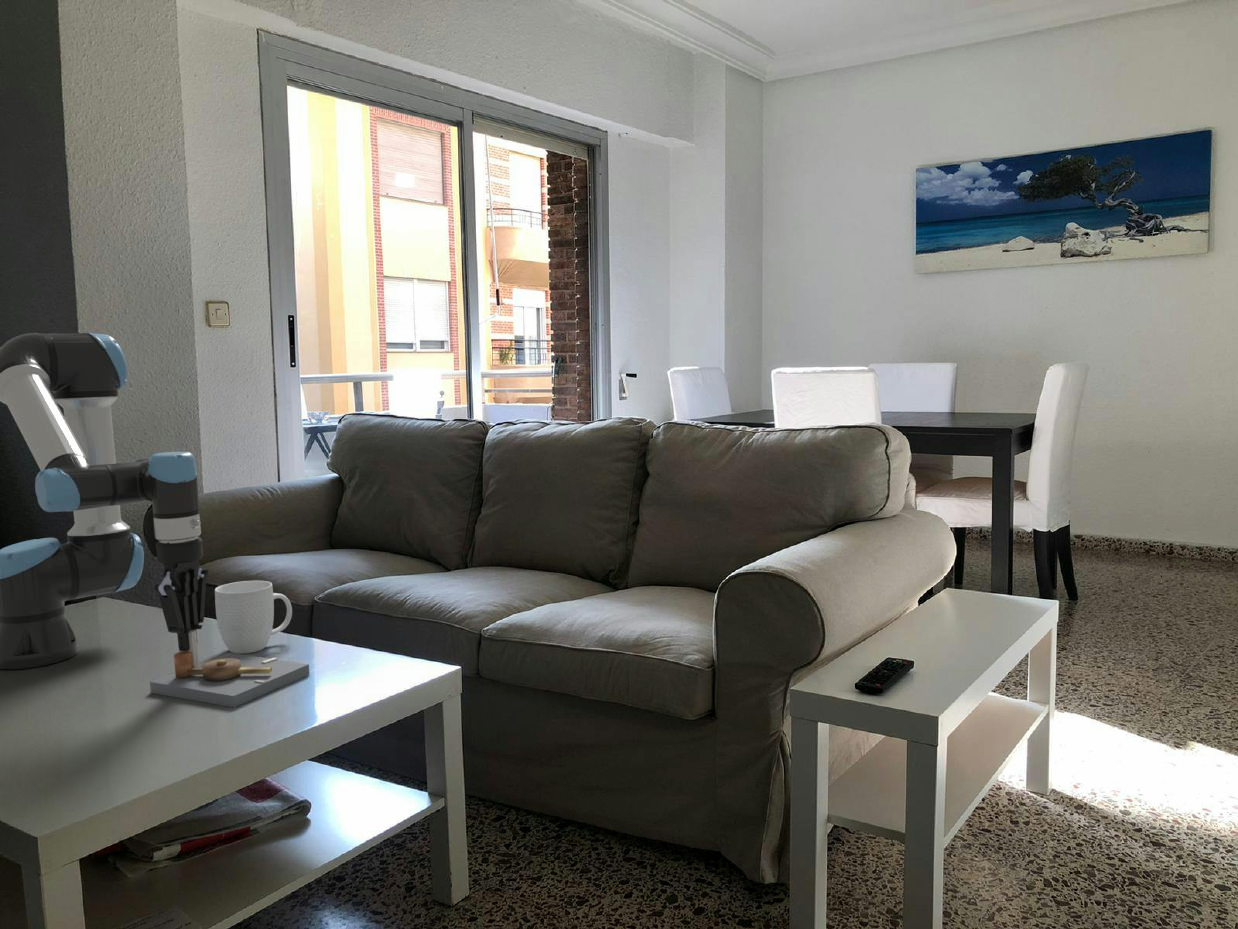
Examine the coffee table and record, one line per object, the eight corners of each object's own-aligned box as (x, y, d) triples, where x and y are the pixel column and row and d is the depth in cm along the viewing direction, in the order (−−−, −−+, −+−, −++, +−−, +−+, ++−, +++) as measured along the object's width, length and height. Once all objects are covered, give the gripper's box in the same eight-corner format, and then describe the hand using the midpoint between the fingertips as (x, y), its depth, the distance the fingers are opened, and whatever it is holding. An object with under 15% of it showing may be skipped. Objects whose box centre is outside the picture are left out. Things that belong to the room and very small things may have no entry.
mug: (283, 634, 206) (280, 574, 205) (303, 645, 198) (299, 583, 196) (211, 648, 197) (207, 586, 195) (228, 661, 188) (224, 596, 187)
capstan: (167, 681, 170) (165, 659, 170) (184, 669, 176) (183, 648, 176) (263, 680, 170) (262, 658, 169) (277, 668, 176) (276, 647, 175)
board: (150, 692, 171) (149, 680, 171) (230, 662, 187) (229, 651, 187) (234, 707, 163) (233, 694, 162) (309, 674, 179) (309, 662, 179)
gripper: (176, 546, 165) (187, 679, 168) (218, 531, 178) (228, 655, 181) (136, 546, 166) (148, 677, 169) (181, 531, 179) (191, 654, 182)
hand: (189, 665), depth 175 cm, fingers closed
